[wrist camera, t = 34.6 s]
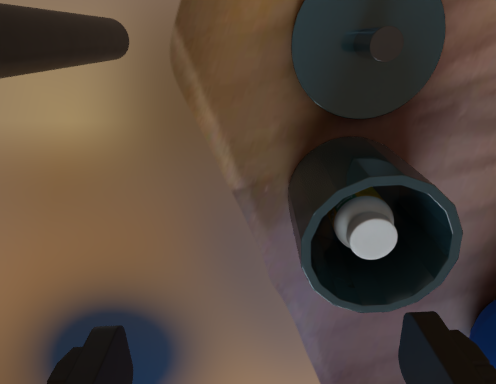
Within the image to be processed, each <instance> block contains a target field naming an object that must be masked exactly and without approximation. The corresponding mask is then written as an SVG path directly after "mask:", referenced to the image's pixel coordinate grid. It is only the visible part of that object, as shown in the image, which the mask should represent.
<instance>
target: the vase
mask: <svg viewBox="0 0 496 384" xmlns="http://www.w3.org/2000/svg"><path fill="white" fill-rule="evenodd" d="M469 339H470V340H472V341H473V342H474V343H476V344H477V345H478V347H479V348H480V349H481V351H482V352H483V353H484V355H485V356H486V357H487V358H488V360H489V361H490V364H491V365H493V366H494V368H495V369H496V299H495V300H494V301H493V302H491V303H490V304H488V305H487V306H486V307H485V308H484V310H483V311H482V312H481V313H480V314H479V316H478V318H477V320H476V321H475V323H474V325H473V327H472V329H471V333H470V338H469Z"/></svg>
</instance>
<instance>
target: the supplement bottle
mask: <svg viewBox="0 0 496 384" xmlns="http://www.w3.org/2000/svg"><path fill="white" fill-rule="evenodd" d="M327 215H328V218H329V220H330V222H331V224H332V227H333V229H334V231H335V234H336V236H337V237H338V239H339V240H340V241H341V242H342V243H343V244H344V245H345V246H347V247H349V248H351V250H352V251H353V252H354V253H355V254H356V255H357V256H359V257H360V258H363V259H368V260H373V259H379V258H381V257H384V256H385V255H387V254H388V253H390V252H391V251H392V250H393V248H394V247H395V245H396V243H397V238H398V234H397V230H396V228H395V226H394V217H393V213H392V211H391V209H390V207H389V206H388V205H387V203H386V202H385V201H384V200H383V199H382V198H381V196H380V195H379V194H378V193H377V192H376V191H375V189H374V188H373V187H372V186H371V187H369V188H366V189H364V190H362V191H359V192H357V193H355V194H352V195H350V196H348V197H345V198H343V199H342V200H341V201H340V202H339V203H338V204H336V205H335V206H334V207H333V208H332V209H331V210H330V211H329V212H328V213H327Z"/></svg>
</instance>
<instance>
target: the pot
mask: <svg viewBox="0 0 496 384" xmlns="http://www.w3.org/2000/svg"><path fill="white" fill-rule="evenodd" d="M371 186H372V187H373V188H374V189H375V191H376V192H377V193H378V194H379V195H380V196H381V198H382V199H383V200H384V201H385V202H386V203H387V205H388V206H389V207H390V209H391V211H392V213H393V217H394V226H395V228H396V230H397V234H398V238H397V243H396V245H395V247H394V248H393V250H392V251H391V252H390V253H388V254H387V255H385V256H384V257H381V258H379V259H373V260H368V259H363V258H360V257H359V256H357V255H356V254H355V253H354V252H353V251H352V250H351V248H349V247H347V246H345V245H344V244H343V243H342V242H341V241H340V240H339V239H338V237H337V236H336V234H335V231H334V229H333V227H332V224H331V222H330V220H329V218H328V215H327V213H328V212H329V211H330V210H331V209H332V208H333V207H334V206H335V205H336V204H338V203H339V202H340V201H341V200H342V199H343V198H345V197H348V196H350V195H352V194H355V193H357V192H359V191H362V190H364V189H366V188H369V187H371ZM288 202H289V212H290V217H291V222H292V226H293V231H294V236H295V240H296V245H297V249H298V254H299V259H300V263H301V267H302V269H303V271H304V273H305V275H306V277H307V279H308V281H309V283H310V285H311V287H312V288H313V290H314V291H316V292H317V293H318V294H320V295H321V296H322V297H323V298H325V299H326V300H327V301H329V302H330V303H331V304H333V305H335V306H338V307H342V308H345V309H349V310H352V311H356V312H359V313H370V312H390V311H393V310H396V309H399V308H401V307H404V306H407V305H410V304H413V303H415V302H418V301H419V300H421V299H422V298H423V297H425V296H426V295H427V294H429V293H430V292H431V291H433V290H434V289H435V288H437V287H438V286H439V285H441V284H442V282H443V281H444V279H445V278H446V276H447V275H448V273H449V272H450V270H451V269H452V267H453V266H454V264H455V263H456V261H457V259H458V257H459V251H460V246H461V241H462V235H463V230H462V227H461V224H460V220H459V217H458V214H457V210H456V207H455V205H454V204H453V203H452V202H451V201H450V200H449V199H448V198H447V197H446V196H445V195H444V194H443V193H442V192H441V191H440V190H439V189H438V188H437V187H436V186H435V185H434V184H432V183H431V182H430V181H429V180H427V179H426V178H425V177H424V176H423V175H421V174H420V173H419V172H418V171H416V170H415V169H414V168H413V167H411V166H410V165H409V164H408V163H406V162H405V161H404V160H403V159H402V158H400V157H399V156H398V155H397V154H395V153H394V152H393V151H392V150H390V149H389V148H388V147H387V146H385V145H383V144H380V143H378V142H376V141H374V140H371V139H367V138H362V137H342V138H337V139H333V140H331V141H328V142H325V143H323V144H321V145H320V146H318V147H316V148H315V149H313V150H312V151H311V152H309V153H308V154H307V155H306V156H305V157H304V158H303V159H302V161H301V162H300V163H299V164H298V166H297V167H296V169H295V171H294V173H293V175H292V177H291V180H290V184H289V187H288Z"/></svg>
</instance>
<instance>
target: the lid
mask: <svg viewBox="0 0 496 384" xmlns="http://www.w3.org/2000/svg"><path fill="white" fill-rule="evenodd" d="M444 39H445V14H444V9H443V5H442V2H441V0H304V2H303V3H302V5H301V7H300V9H299V12H298V14H297V16H296V20H295V23H294V27H293V33H292V40H291V53H292V61H293V66H294V70H295V73H296V76H297V78H298V80H299V82H300V84H301V86H302V88H303V89H304V91H305V92H306V94H307V95H308V96H309V97H310V98H311V99H312V100H313V101H314V102H315V103H316V104H317V105H319V106H320V107H321V108H323V109H325V110H326V111H328V112H330V113H332V114H335V115H337V116H341V117H344V118H351V119H367V118H374V117H378V116H381V115H384V114H387V113H389V112H392V111H393V110H395V109H397V108H399V107H401V106H402V105H404V104H405V103H407V102H408V101H409V100H410V99H411V98H413V97H414V96H415V95H416V94H417V93H418V92H419V91H420V90H421V89H422V88H423V86H424V85H425V84H426V82H427V81H428V80H429V78H430V77H431V75H432V73H433V71H434V70H435V68H436V66H437V63H438V61H439V59H440V56H441V52H442V49H443V44H444Z"/></svg>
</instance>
